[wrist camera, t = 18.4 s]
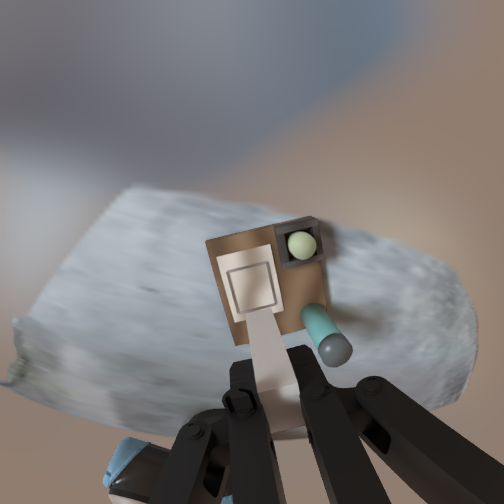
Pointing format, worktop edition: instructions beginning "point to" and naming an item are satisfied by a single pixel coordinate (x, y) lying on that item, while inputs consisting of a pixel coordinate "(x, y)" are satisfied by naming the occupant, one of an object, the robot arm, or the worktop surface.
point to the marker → (326, 336)
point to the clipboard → (267, 275)
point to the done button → (301, 244)
